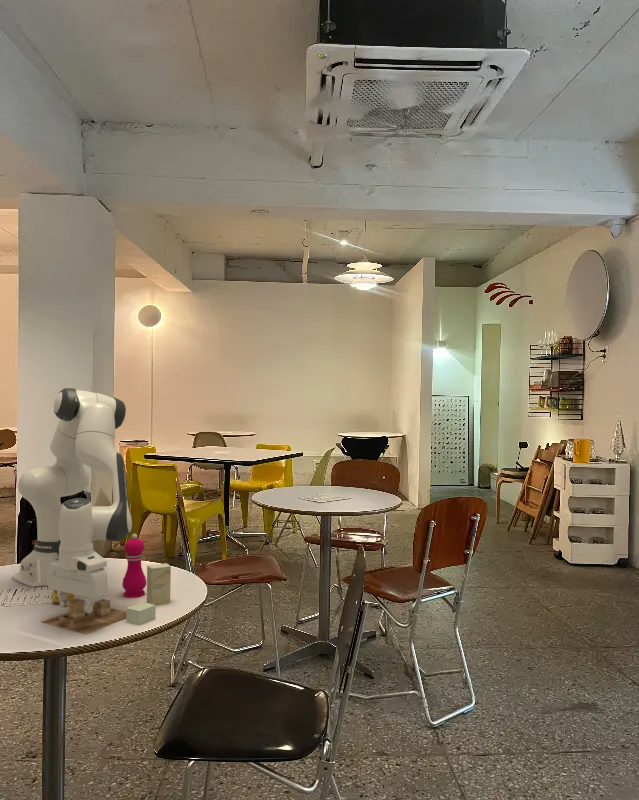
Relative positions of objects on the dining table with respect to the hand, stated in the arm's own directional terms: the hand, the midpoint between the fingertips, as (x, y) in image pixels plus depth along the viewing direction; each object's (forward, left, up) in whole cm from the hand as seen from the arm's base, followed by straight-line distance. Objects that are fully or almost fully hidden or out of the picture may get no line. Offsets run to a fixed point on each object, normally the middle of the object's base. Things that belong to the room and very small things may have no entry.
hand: (76, 609), depth 181 cm
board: (0, +4, -5) cm, 7 cm away
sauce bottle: (-18, +10, -5) cm, 21 cm away
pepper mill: (-5, +26, -5) cm, 27 cm away
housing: (+14, +11, -5) cm, 18 cm away
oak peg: (0, 0, -4) cm, 4 cm away
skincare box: (+7, +24, -5) cm, 26 cm away
